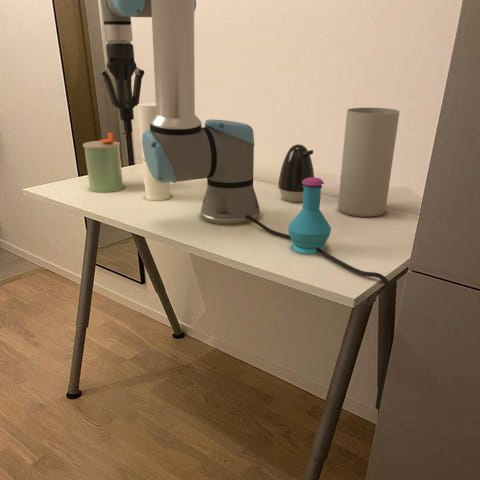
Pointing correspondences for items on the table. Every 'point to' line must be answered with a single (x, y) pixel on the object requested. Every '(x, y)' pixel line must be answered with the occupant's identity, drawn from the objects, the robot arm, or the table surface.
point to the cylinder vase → (367, 160)
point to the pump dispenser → (295, 173)
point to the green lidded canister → (103, 166)
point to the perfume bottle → (310, 220)
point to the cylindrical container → (152, 186)
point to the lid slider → (109, 138)
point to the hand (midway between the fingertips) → (128, 131)
